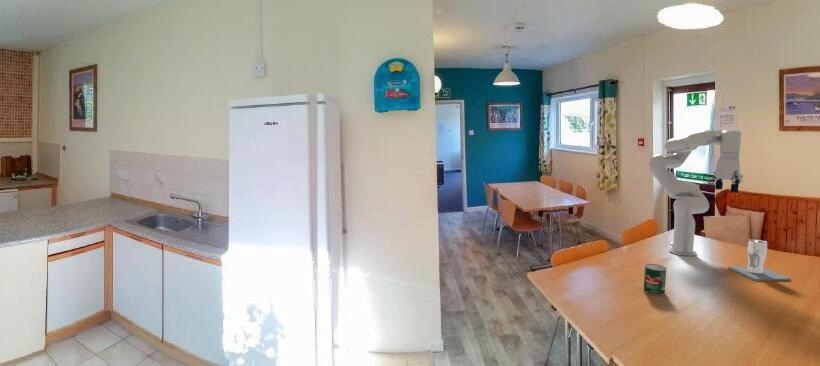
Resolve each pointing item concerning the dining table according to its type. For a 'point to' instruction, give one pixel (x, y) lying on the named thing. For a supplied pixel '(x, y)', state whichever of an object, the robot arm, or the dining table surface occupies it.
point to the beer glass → (756, 256)
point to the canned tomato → (655, 279)
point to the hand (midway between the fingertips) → (726, 190)
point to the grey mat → (765, 276)
